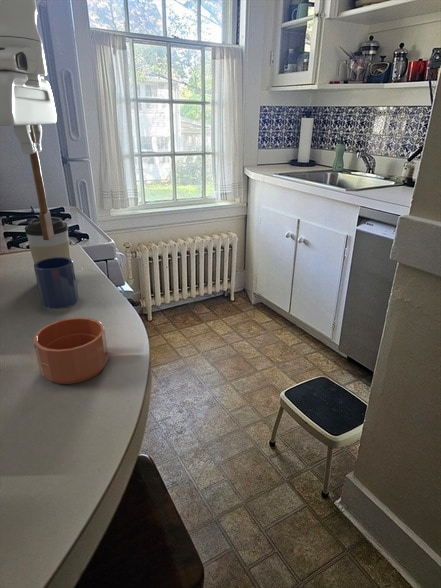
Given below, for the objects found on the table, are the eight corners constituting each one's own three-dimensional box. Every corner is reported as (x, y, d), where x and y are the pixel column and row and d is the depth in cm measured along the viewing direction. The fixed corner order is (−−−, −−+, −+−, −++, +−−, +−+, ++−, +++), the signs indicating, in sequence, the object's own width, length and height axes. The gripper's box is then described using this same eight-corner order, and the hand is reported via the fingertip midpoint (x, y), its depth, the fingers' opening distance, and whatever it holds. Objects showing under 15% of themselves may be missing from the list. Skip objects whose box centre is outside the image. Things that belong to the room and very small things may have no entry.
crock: (36, 311, 79) (27, 269, 75) (49, 296, 85) (42, 257, 82) (72, 310, 79) (65, 269, 75) (83, 295, 86) (76, 256, 82)
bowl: (30, 387, 57) (21, 351, 54) (54, 349, 66) (48, 317, 63) (99, 385, 57) (94, 350, 55) (114, 348, 66) (110, 316, 64)
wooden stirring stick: (42, 240, 74) (19, 119, 65) (48, 236, 77) (26, 118, 68) (49, 240, 74) (27, 119, 65) (55, 236, 77) (34, 118, 68)
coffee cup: (37, 276, 96) (25, 216, 89) (76, 272, 98) (67, 213, 92) (34, 291, 88) (20, 225, 81) (76, 286, 90) (66, 222, 84)
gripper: (23, 69, 73) (37, 148, 78) (-40, 53, 54) (-15, 158, 60) (58, 69, 73) (69, 148, 79) (7, 54, 54) (27, 159, 60)
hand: (32, 153), depth 69 cm, fingers closed on wooden stirring stick, 1 cm apart
